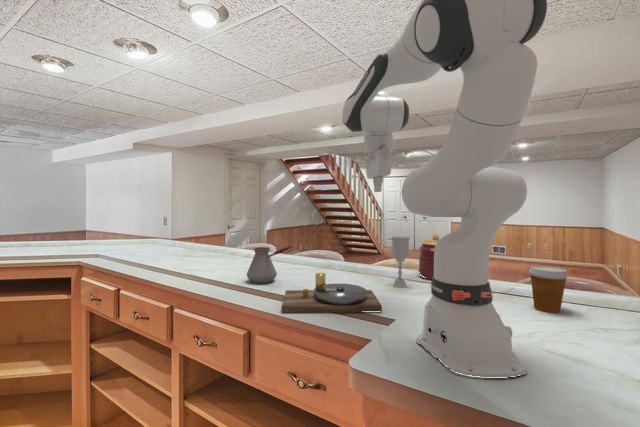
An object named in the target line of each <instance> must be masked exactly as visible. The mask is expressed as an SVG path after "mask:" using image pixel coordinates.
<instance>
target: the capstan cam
mask: <svg viewBox="0 0 640 427" xmlns="http://www.w3.org/2000/svg"><path fill="white" fill-rule="evenodd" d="M313 290H314V298H315V299H316V300H317V301H319V302H322V303H326V304H333V305H351V304H357V303H361V302H363V301H365V300H366V299H367V290H368V289H366V288H364V287H363V286H360V285H356V284H351V283H326V273H323V272H317V273H315V288H314V289H313Z"/></svg>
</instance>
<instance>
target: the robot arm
mask: <svg viewBox="0 0 640 427" xmlns="http://www.w3.org/2000/svg"><path fill="white" fill-rule="evenodd" d="M547 2H548V0H420V2H419V3H418V5H417V7H416V8H415V10H414V11H413V12H412V14H411V16H410V18H409V20H408V22H407V24H406V26H405V28H404V30H403V32H402V34H401V35H400V37H399V38H398V39H397V40H396V42H395V43H393V45H391V46H390V47H389V48H387V49H386V50H385V51H383V52H381V53H379V54H378V55H377V56H376V57H375V58H374V60H373V61H372V62H371V64H370V65H369V67H368V68H367V70H366V71H365V73H364V75H363V76H362V78H361V80H360V81H359V83H358V84H357V86H356V87H355V90H353V92H352V93H351V94H350V96H348V98H346V100H345V102H344V104H343V108H342V123H343V124H344V125H345V127H346V128H347V129H348V130H350V131H351V132H352V133H357V132H365V133H364V137H363V142H364V143H363V156H364V157H365V167H366V168H365V170H366V177H367V179H369V180H372V182H373V191H374V193H381V192H382V190H383V189H382V188H383V181H384V177H387V176H391V172H392V154H393V152H394V134H393V133H394V132H398V131H401V130H402V129H404V128H405V127H406V126H407V125H408V123H409V117H410V107H409V105H408V103H407V102H406V100H405V99H404V98H403V97H399V96H394V95H393V96H392V95H391V94H390V93H389V92H387V91H382V90H384V89H386V88H390V87H393V86H399V85H405V84H406V85H408V84H415V83H421V82H423V81H426V80H429V79H430V78H432V77H434V75H436V74H437V73H439V71H440V70H441V69H443V71H445V72H449V73H453V72H455V71H457V70H458V69H460V70H461V72H462V77H463V78H462V79H463V83H462V87H461V92H460V94H459V98H458V101H457V106H456V109H455V112H454V117H453V120H452V122H451V126H450V129H449V132H448V135H447V137H446V140H445V141H444V143H443V145H442V147H441V148H440V149H439V151H438V152H436V154H435V155H434V156H433V157H431V158H430V159H429V160H428V161H427V162H426V163H424V164H423V165H421V166H419V167H418V168H416V169H414V170H411V171H410V172H409V174H407V176H406V177H405V179H404V181H403V183H402V187H401V198H402V202H403V204H404V206H405V208H406V209H407V210H408V211H409V212H410V213H411V214H415V215H420V216H426V217H430V218H461V220H460V222H459V225H458V226H457V228H456V229H455V230H454V231H452V232H449V233H447V234H446V235H444V236H442V237H441V238H439V239H440V240H439V241H438V242H437V243H436V245H435V248H434V276H433V277H432V280H431V282H430V289H431V291H430V292H431V294H432V296H431V297H430V299H429V300H428V302H427V303H426V304H425V305H424V313H423V323H422V324H423V325H422V334H420V335H417V336H416V339H415V341H416V340H417V341H418V342H419V343H420V344H421V345H422V346H423V347H424V348H426V349H427V350H428V351H429V352H430V353H432V354H433V355H434V356H436V357H437V358H438V359H440V360H441V361H442V362H443V363H444V364H445V365H447V366H448V367H449V368H450V369H451V370H453V371H454V372H458V373H462V374H465V375H472V376H480V377H481V376H482V377H511V376H518V375H522V374H524V373H526V372H527V373H528V371H527V370H528V369H527V367H526V365H525V364H524V363H523V362H522V361H521V360H520V358H518V356H517V355H516V354H515V352H513V344H512V343H513V342H512V338H513V330H512V327H511V326H509V325H505V324H504V322H503V320H502V319H501V316H500V314H499V313H498V311H497V310H496V308H495V307H494V304H493V299H494V297H493V294H494V292H493V291H492V288H491V284H490V282H489V280H488V279H489V263H490V256H491V255H490V254H491V253H490V252H491V248H492V245H493V244H492V243H493V241H494V238H495V236H496V235H497V233H498V231H499V229H500V228H501V227H502V226H503V224H504V223H505V222H506V221H508V219H509V218H511V217H512V216H513V215H515V214H516V213H518V212H519V211H520V210H521V209H522V208H523V206H524V204H525V202H526V200H527V195H528V188H527V184H526V181H525V179H524V177H523V176H522V174H521V173H520V172H519V171H517V170H513V169H509V168H503V167H496V166H493V165H496V164H497V163H498V162H501V160H503V159H504V158H505V157H506V156H507V155H508V153H509V152H510V149H511V148H512V144H513V142H514V140H515V137H516V135H517V133H518V129H519V128H520V125H521V123H522V120H523V119H524V115H525V112H526V111H527V108H528V106H529V102H530V99H531V95H532V91H533V88H534V85H535V84H534V83H535V79H536V74H537V68H538V59H537V55H536V53H535V52H534V50H532V49H531V48H529V46H528V45H526V43H528V42H529V41H530V40H532V39H533V38H535V36H537V34H538V33H539V31H540V30H541V28H542V26H543V24H544V22H545V19H546V15H547V11H548V3H547ZM422 346H421V347H422ZM423 347H422V348H423ZM424 348H423V349H424ZM428 351H427V352H428ZM429 352H428V353H429ZM430 353H429V354H430ZM434 356H433V357H434ZM527 373H526V374H527Z"/></svg>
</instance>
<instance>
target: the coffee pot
mask: <svg viewBox="0 0 640 427" xmlns="http://www.w3.org/2000/svg"><path fill="white" fill-rule="evenodd" d="M290 249H291V251H290ZM270 250H271V247H268V246H267V247H266V246H260V247H253V251H254V255H253V257H252V261H251V263H250V265H249V268H248V271H247V273H246V277H247V279H248V280H249V281H251V283H252V282H253V284H256V283H258V284H259V285H261V284H262V285H263V284H269V283H271V282H273V281H274V279H275V278H276V277H277V275H278V273H277V271H276V270H277V269H276V268H275V266H274V263H273V261H272V258H271V257H273V256H276V255H279V254H282V253H284V252H285V251H288V252H290V253H292V252H293V250H294V249H293V247H291V245H289V246H285V247H284V248H280V249H278V250H276V251H274V252H273V253H271V254H269V252H270Z"/></svg>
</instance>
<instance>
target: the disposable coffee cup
mask: <svg viewBox="0 0 640 427" xmlns="http://www.w3.org/2000/svg"><path fill="white" fill-rule="evenodd" d="M528 272H529V275H530V279H531V280H530V281H531V288H532V289H531V290H532V291H531V292H532V298H533V299H532V300H533V301H532V302H533V308H534V309H535V310H538V311H541V312H545V313H553V314H555V313H560V312H561V307H562V302H563V297H564V292H565V288H566V281H567V279H568V277H569V274H568V272H567V269H565V268H563V267H557V266H550V265H531V266H530V268H529V270H528Z"/></svg>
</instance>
